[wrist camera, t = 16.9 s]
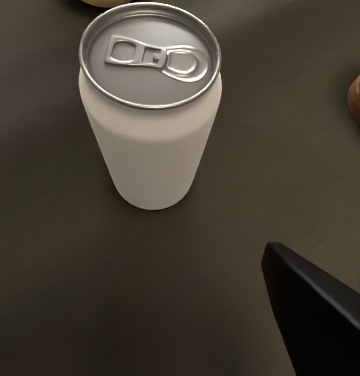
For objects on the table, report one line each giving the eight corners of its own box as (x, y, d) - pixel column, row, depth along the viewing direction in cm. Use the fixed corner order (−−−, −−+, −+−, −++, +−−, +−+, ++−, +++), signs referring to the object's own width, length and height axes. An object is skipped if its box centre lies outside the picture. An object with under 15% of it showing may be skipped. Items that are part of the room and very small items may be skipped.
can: (187, 217, 20) (228, 131, 9) (105, 205, 20) (43, 102, 9) (195, 146, 23) (235, 9, 11) (122, 134, 22) (89, -17, 11)
